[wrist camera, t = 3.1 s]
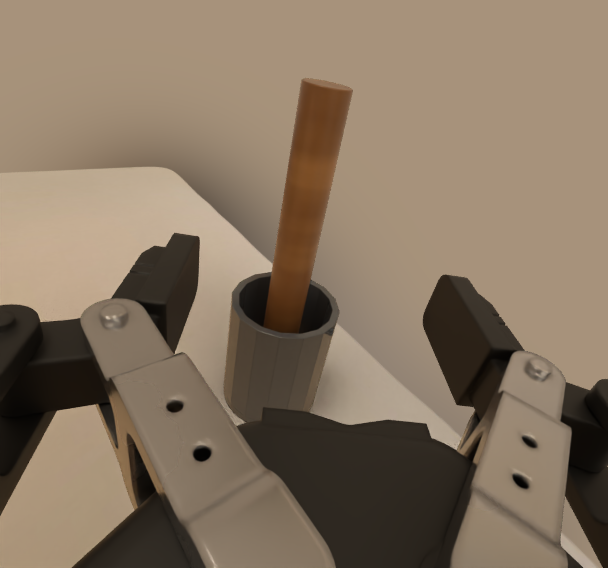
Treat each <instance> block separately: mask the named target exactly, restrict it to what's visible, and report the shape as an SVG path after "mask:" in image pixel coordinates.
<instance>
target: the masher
mask: <svg viewBox="0 0 608 568" xmlns="http://www.w3.org/2000/svg"><path fill="white" fill-rule="evenodd" d="M352 92H353V90H352V89H351V88H349V87H347V86H344V85H341V84H336V83H333V82H328V81H323V80H317V79H309V78H305V79H302V80H301V87H300V93H299V99H298V106H297V112H296V119H295V125H294V132H293V139H292V145H291V151H290V158H289V164H288V171H287V178H286V183H285V190H284V196H283V203H282V209H281V216H280V223H279V229H278V235H277V241H276V248H275V254H274V262H273V267H272V274H271V280H270V286H269V293H268V299H267V306H266V312H265V319H264V325H263V327H264V328H267V329H271V330H274V331H277V332H280V333H299V329H300V324H301V320H302V315H303V311H304V307H305V302H306V298H307V293H308V289H309V284H310V280H311V275H312V271H313V266H314V262H315V257H316V253H317V248H318V244H319V240H320V235H321V231H322V226H323V222H324V217H325V213H326V208H327V204H328V199H329V195H330V191H331V186H332V182H333V177H334V172H335V168H336V164H337V159H338V155H339V150H340V146H341V141H342V137H343V132H344V128H345V124H346V119H347V115H348V110H349V106H350V101H351V97H352Z"/></svg>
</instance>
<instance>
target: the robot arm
mask: <svg viewBox="0 0 608 568" xmlns="http://www.w3.org/2000/svg"><path fill="white" fill-rule="evenodd" d="M199 248H200V240H199V237H198V236H192V235H185V234H179V233H174V234H173V235H172V237H171V239H170V241H169V242H168V244H167V246H166V247H159V246H153V247H152V248H150V249H148V250H146V251H145V252H143V253H142V254H141V255H140V257H139V258H138V260H137V261H136V262H135V265H133V267H132V268H131V270H130V273H128V274H127V276H126V277H125V279H124V280H123V282H122V283H121V285H120V286H119V288H118V289H117V291H116V292H115V293H114V295H113V296H112V298H111V299H108V300H103V301H100V302H97V303H95V304H93V305H91V306H90V307H88V308H87V309H86V310H85V311H84V312H83V314H82V316H81V318H78V319H73V320H63V321H51V322H40V319H39V316H38V314H37V312H36V311H35V310H33V309H32V308H29V307H26V306H22V305H1V306H0V515H1V513H2V511H3V509H4V508H5V506H6V504H7V502H8V500H9V498H10V497H11V495H12V493H13V491H14V489H15V487H16V485H17V484H18V482H19V480H20V478H21V476H22V474H23V472H24V471H25V469H26V467H27V465H28V463H29V461H30V459H31V458H32V456H33V454H34V452H35V450H36V448H37V446H38V445H39V443H40V441H41V439H42V437H43V435H44V433H45V432H46V430H47V428H48V426H49V424H50V422H51V420H52V419H53V417H54V415H55V413H56V411H57V410H63V409H70V408H76V407H82V406H88V405H94V404H95V405H96V407H97V410H98V412H99V415H100V417H101V420H102V422H103V425H104V427H105V429H106V432H107V434H108V437H109V439H110V442H111V444H112V447H113V449H114V452H115V454H116V457H117V459H118V462H119V465H120V468H121V472H122V476H123V479H124V483H125V486H126V489H127V492H128V495H129V498H130V500H131V503H132V505H133V508H134V510H135V511H134V512H132V513H131V514H130V515H129V516H128V517H127V518H126V519H125V520H124V521H123V522H121V523H120V524H119V525H118V526H117V527H116V528H115V529H114V530H113V531H111V532H110V533H109V534H108V535H107V536H106V537H105V538H104V539H103V540H102V541H100V542H99V543H98V544H97V545H96V546H95V547H94V548H93V549H92V550H91V551H89V552H88V553H87V554H86V555H85V556H84V557H83V558H82V559H81V560H80V561H78V562H77V563H76V564H75V565H74V566H73V567H72V568H583V567H582V566H581V565H580V564H579V563H578V562H577V561H576V560H575V559H574V558H572V557H571V556H570V555H569V554H568V553H567V552H566V551H565V550H564V549H563V548H562V547H561V543H560V538H561V528H562V519H563V508H564V500H565V497H566V498H567V500H568V502H569V504H570V506H571V508H572V510H573V512H574V513H575V516H576V517H577V519H578V521H579V523H580V525H581V527H582V529H583V531H584V533H585V535H586V536H587V538H588V540H589V542H590V544H591V546H592V548H593V550H594V552H595V554H596V556H597V557H598V559H599V561H600V563H601V565H602V567H603V568H608V467H607V466H608V379H602V380H599V381H598V382H597V383H596V384H595V386H594V387H593V388H592V389H591V390H587V389H584V388H581V387H578V386H575V385H573V384H570V383H567V382H566V380H565V377H564V375H563V374H562V372H561V371H560V370H559V369H558V368H557V367H556V366H555V365H554V364H553V363H551V362H550V361H548V360H547V359H545V358H543V357H541V356H539V355H537V354H534V353H532V352H528V351H524V349H523V348H522V346H521V345H520V343H519V342H518V341H517V339H516V338H515V337H514V335H513V334H512V332H511V331H510V329H509V328H508V327H507V326H505V322H504V321H503V320H502V318H501V317H499V314H498V313H497V311H496V310H495V308H494V307H493V305H492V304H490V303H489V302H488V301H487V300H486V299H485V298H483V297H482V296H481V295H479V294H478V293H477V291H476V290H475V288H474V287H473V285H472V284H471V283H470V281H469V280H468V279H467V278H464V277H458V276H451V275H443V276H441V277H440V279H439V280H438V283H437V285H436V287H435V289H434V292H433V294H432V296H431V298H430V300H429V303H428V305H427V307H426V309H425V312H424V315H423V327H424V330H425V332H426V335H427V337H428V339H429V342H430V344H431V346H432V349H433V351H434V353H435V356H436V358H437V360H438V363H439V365H440V367H441V370H442V372H443V374H444V376H445V379H446V381H447V383H448V386H449V388H450V391H451V393H452V395H453V398H454V400H455V402H456V404H457V405H460V406H470V407H474V409H475V412H474V413H473V415H472V416H471V418H470V420H469V422H468V424H467V427H466V429H465V431H464V434H463V436H462V438H461V441H460V443H459V445H458V448H457V450H455V449H453V448H451V447H450V446H448V445H446V444H444V443H442V442H440V441H437V440H435V439H432V438H431V436H430V433H429V430H428V427H427V424H424V423H414V422H404V421H395V420H383V421H376V422H369V423H362V424H355V425H346V424H342V423H339V422H336V421H333V420H330V419H327V418H324V417H321V416H318V415H315V414H312V413H308V412H305V411H297V410H288V409H278V408H268V407H263V409H262V414H261V420H259V421H252V422H248V423H244V424H241V425H239V426H236V425H235V424H234V423H233V421H232V420H231V418H230V417H229V415H228V414H227V412H226V411H225V409H224V408H223V406H222V405H221V403H220V402H219V400H218V399H217V397H216V396H215V395H214V393H213V392H212V390H211V389H210V387H209V386H208V384H207V383H206V381H205V380H204V378H203V377H202V375H201V374H200V372H199V371H198V369H197V368H196V366H195V365H194V364H193V362H192V361H191V359H190V358H189V356H188V355H187V354H185V353H183V352H182V353H179V354H176V355H174V353H175V350H176V348H177V345H178V342H179V339H180V337H181V334H182V331H183V329H184V326H185V323H186V321H187V318H188V315H189V312H190V310H191V307H192V304H193V302H194V299H195V296H196V292H197V286H198V274H199Z"/></svg>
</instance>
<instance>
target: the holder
mask: <svg viewBox="0 0 608 568" xmlns="http://www.w3.org/2000/svg"><path fill="white" fill-rule="evenodd" d="M271 274H272V272H269V273H262V274H255V275H253V276H251V277H249V278H247V279H245V280H243V281H241V282H240V283H239V284H238V285H237V287H236V288H235V289H234V291H233V292H232V299H231V310H230V321H229V332H228V343H227V354H226V365H225V377H224V395H225V399H226V402H227V404H228V405H229V407H230V408H231V410H232V411H233V412H234V413H235V414H236V415H237V416H238V417H240V418H241V419H243V420H244V421H246V422H252V421H259V420H261V414H262V409H263V407H268V408H278V409H288V410H297V411H305V412H309V410H310V409H311V407H312V404H313V401H314V398H315V395H316V391H317V388H318V385H319V381H320V378H321V374H322V371H323V367H324V364H325V360H326V357H327V354H328V350H329V347H330V343H331V340H332V336H333V333H334V329H335V326H336V323H337V319H338V316H339V309H338V306H337V303H336V299H335V298H334V297H333V296H332V295H331V294H330V293H329V292H328V291H327V289H326V288H324V287H323V286H321V285H319V284H318V283H316V282H314V281H312V280H310V284H309V289H308V293H307V298H306V302H305V307H304V311H303V315H302V320H301V324H300V329H299V333H280V332H277V331H274V330H271V329H267V328H264V327H263V325H264V319H265V312H266V306H267V299H268V293H269V286H270V280H271Z"/></svg>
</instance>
